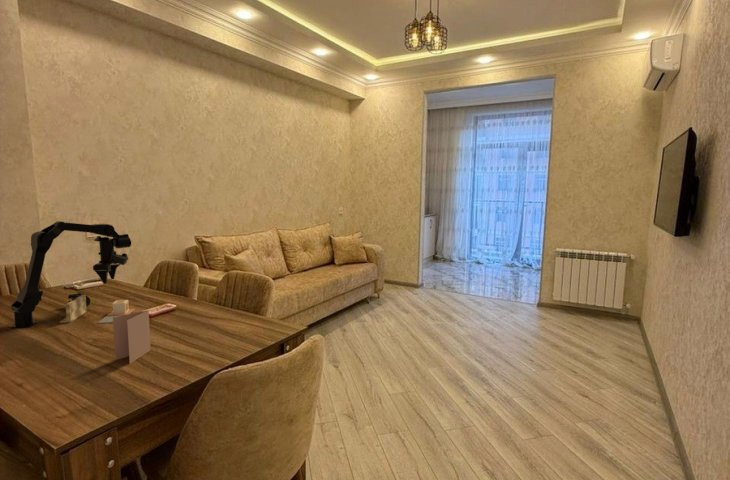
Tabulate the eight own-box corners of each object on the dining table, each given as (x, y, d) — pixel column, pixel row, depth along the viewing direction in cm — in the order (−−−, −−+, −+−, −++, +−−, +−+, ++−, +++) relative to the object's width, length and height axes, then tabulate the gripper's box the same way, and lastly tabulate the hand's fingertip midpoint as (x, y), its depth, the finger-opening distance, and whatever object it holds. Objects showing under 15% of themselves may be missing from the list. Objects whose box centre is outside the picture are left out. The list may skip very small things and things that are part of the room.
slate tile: (121, 322, 172) (121, 321, 172) (97, 323, 170) (97, 322, 170) (128, 315, 181) (128, 315, 181) (105, 317, 179) (105, 316, 179)
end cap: (91, 308, 192) (90, 294, 191) (73, 311, 187) (72, 297, 186) (86, 304, 198) (85, 290, 198) (68, 306, 193) (67, 293, 193)
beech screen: (70, 322, 171) (69, 304, 170) (59, 323, 170) (58, 304, 169) (86, 311, 187) (85, 294, 186) (76, 311, 186) (75, 295, 185)
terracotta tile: (128, 315, 182) (128, 314, 182) (106, 316, 180) (106, 315, 180) (135, 309, 191) (134, 308, 191) (114, 310, 189) (113, 309, 189)
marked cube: (125, 313, 184) (125, 302, 183) (113, 314, 182) (112, 303, 182) (129, 310, 188) (128, 299, 188) (117, 310, 187) (116, 300, 186)
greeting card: (149, 349, 145) (147, 309, 143) (158, 354, 140) (156, 313, 138) (114, 359, 136) (111, 316, 134) (122, 365, 131) (120, 321, 129)
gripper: (118, 252, 185) (120, 285, 187) (131, 246, 203) (133, 276, 205) (91, 253, 182) (93, 286, 184) (107, 247, 200) (109, 277, 202)
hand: (109, 281), depth 194 cm, fingers open, 9 cm apart
